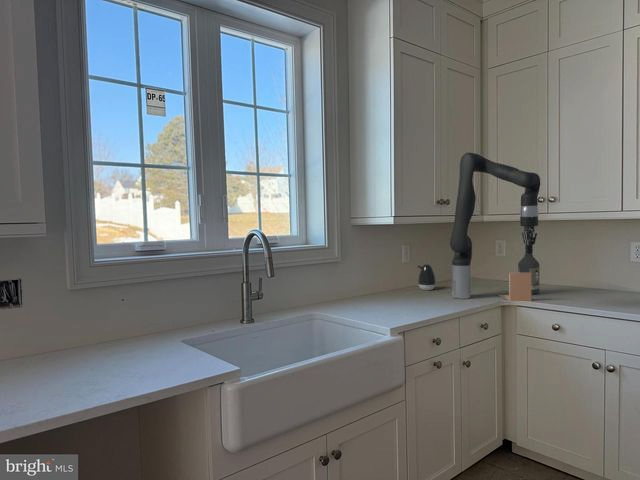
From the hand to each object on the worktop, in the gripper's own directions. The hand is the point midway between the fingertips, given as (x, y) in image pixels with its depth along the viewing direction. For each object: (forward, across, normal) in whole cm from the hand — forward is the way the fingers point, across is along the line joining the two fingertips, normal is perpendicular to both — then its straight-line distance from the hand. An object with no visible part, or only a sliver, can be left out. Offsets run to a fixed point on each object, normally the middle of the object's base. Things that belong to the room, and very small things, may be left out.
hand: (529, 253), depth 201 cm
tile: (+25, -16, +1) cm, 30 cm away
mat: (+25, -24, +1) cm, 35 cm away
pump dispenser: (+25, -50, -41) cm, 69 cm away
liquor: (+25, -37, +12) cm, 46 cm away
